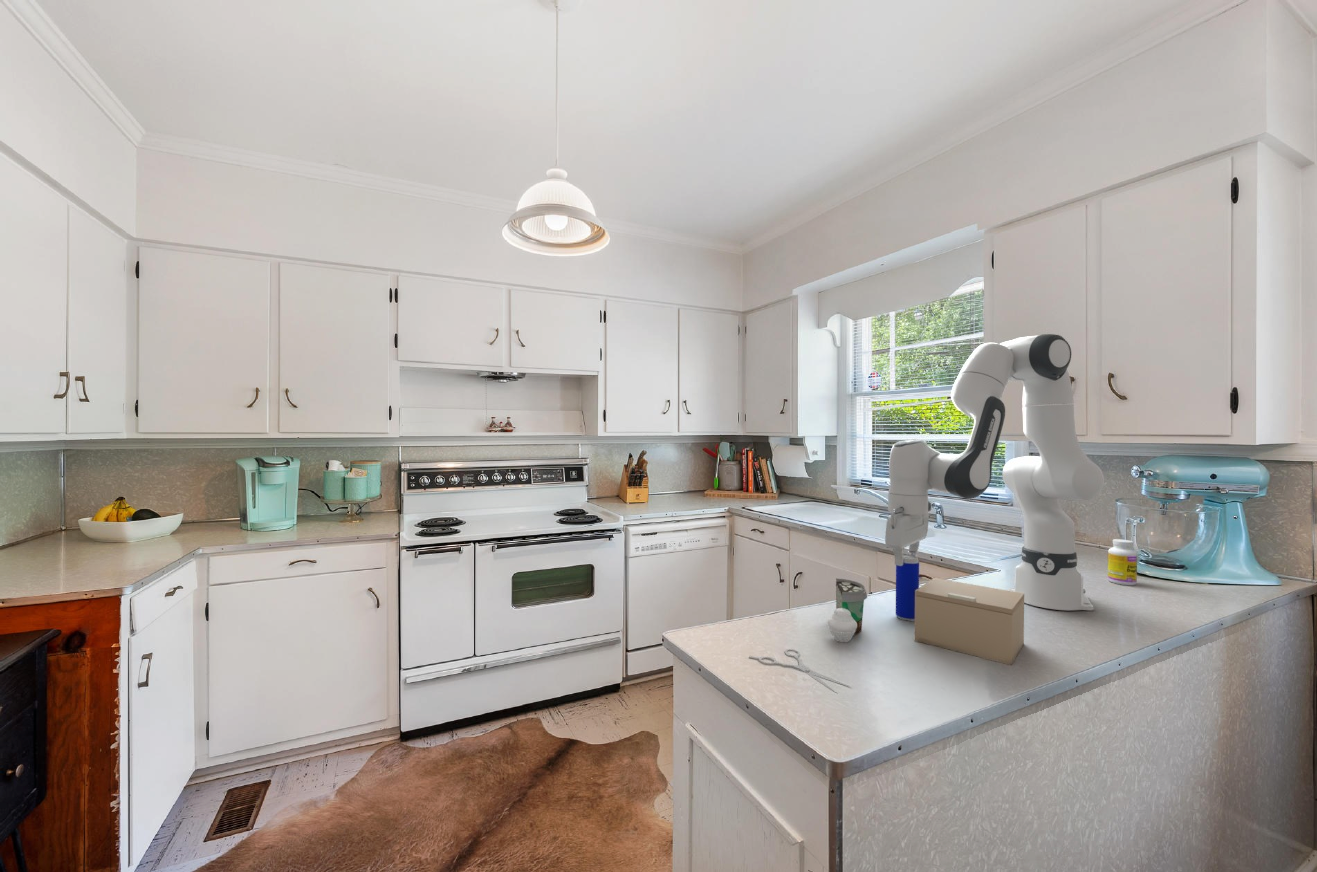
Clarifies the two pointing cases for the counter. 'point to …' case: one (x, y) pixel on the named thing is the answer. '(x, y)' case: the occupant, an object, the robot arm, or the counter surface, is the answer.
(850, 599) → the food container
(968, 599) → the lid
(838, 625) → the muffin
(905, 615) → the beverage can
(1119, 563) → the supplement bottle
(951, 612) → the tan box
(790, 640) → the counter surface
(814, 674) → the scissors
